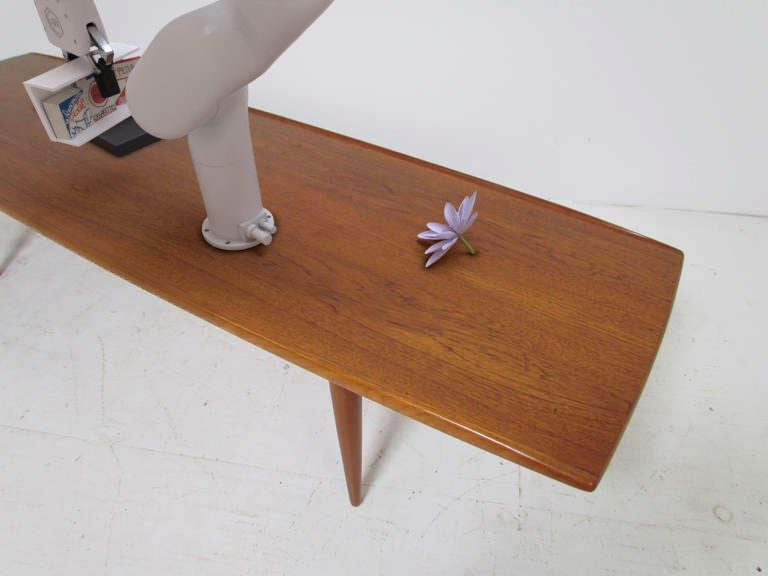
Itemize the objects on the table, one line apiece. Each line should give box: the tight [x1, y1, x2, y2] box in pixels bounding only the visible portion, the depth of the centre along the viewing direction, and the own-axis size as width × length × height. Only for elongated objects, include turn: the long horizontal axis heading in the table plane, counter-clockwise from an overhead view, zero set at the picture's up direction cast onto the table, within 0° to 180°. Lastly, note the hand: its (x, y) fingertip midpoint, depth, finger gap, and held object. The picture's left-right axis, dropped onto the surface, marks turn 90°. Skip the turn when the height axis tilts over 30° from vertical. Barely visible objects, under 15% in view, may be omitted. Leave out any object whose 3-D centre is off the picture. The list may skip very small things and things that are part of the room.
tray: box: [90, 115, 162, 158], centre depth 115 cm, size 14×24×3 cm, turn 143°
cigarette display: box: [22, 41, 141, 148], centre depth 83 cm, size 20×6×9 cm, turn 159°
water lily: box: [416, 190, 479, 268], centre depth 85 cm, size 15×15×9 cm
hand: (98, 88), depth 83 cm, fingers closed on cigarette display, 6 cm apart
